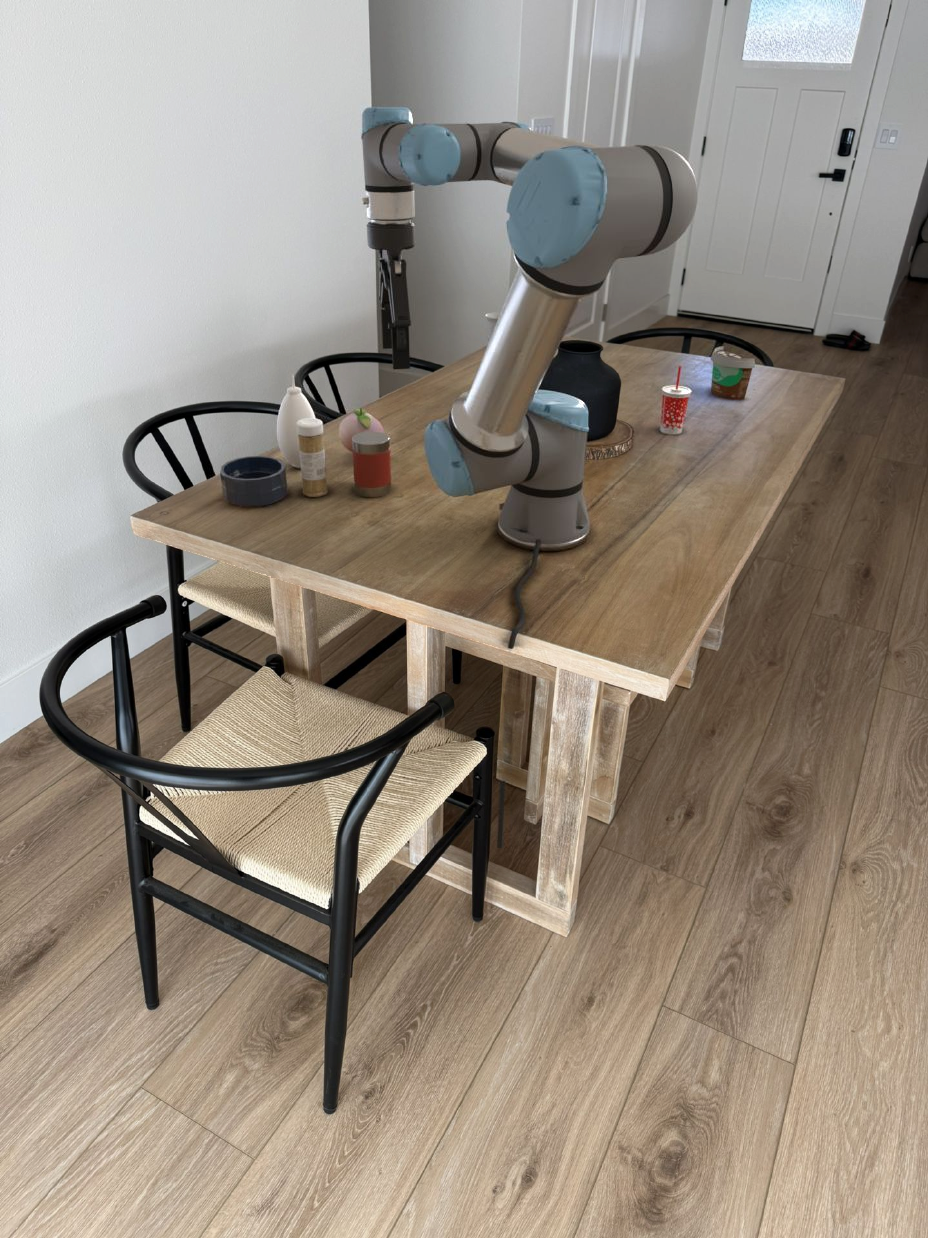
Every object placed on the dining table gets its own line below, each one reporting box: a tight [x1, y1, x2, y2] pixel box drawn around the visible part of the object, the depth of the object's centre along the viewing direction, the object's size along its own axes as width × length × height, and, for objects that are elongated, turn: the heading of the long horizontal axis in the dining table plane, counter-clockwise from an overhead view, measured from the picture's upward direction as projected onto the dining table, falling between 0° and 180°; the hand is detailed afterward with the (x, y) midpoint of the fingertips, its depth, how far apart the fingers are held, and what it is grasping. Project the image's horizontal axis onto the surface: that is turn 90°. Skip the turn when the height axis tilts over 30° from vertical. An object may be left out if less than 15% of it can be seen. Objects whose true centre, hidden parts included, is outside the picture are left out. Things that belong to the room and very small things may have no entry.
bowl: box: [219, 455, 289, 508], centre depth 158 cm, size 11×11×6 cm
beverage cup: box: [659, 365, 692, 435], centre depth 187 cm, size 6×6×14 cm
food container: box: [710, 345, 756, 401], centre depth 210 cm, size 12×6×10 cm, turn 25°
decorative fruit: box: [338, 407, 385, 453], centre depth 173 cm, size 9×8×10 cm
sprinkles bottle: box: [296, 417, 328, 498], centre depth 157 cm, size 5×5×14 cm
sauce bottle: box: [276, 373, 317, 469], centre depth 166 cm, size 8×8×18 cm
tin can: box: [351, 431, 392, 498], centre depth 159 cm, size 7×7×10 cm
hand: (395, 357), depth 149 cm, fingers open, 13 cm apart
